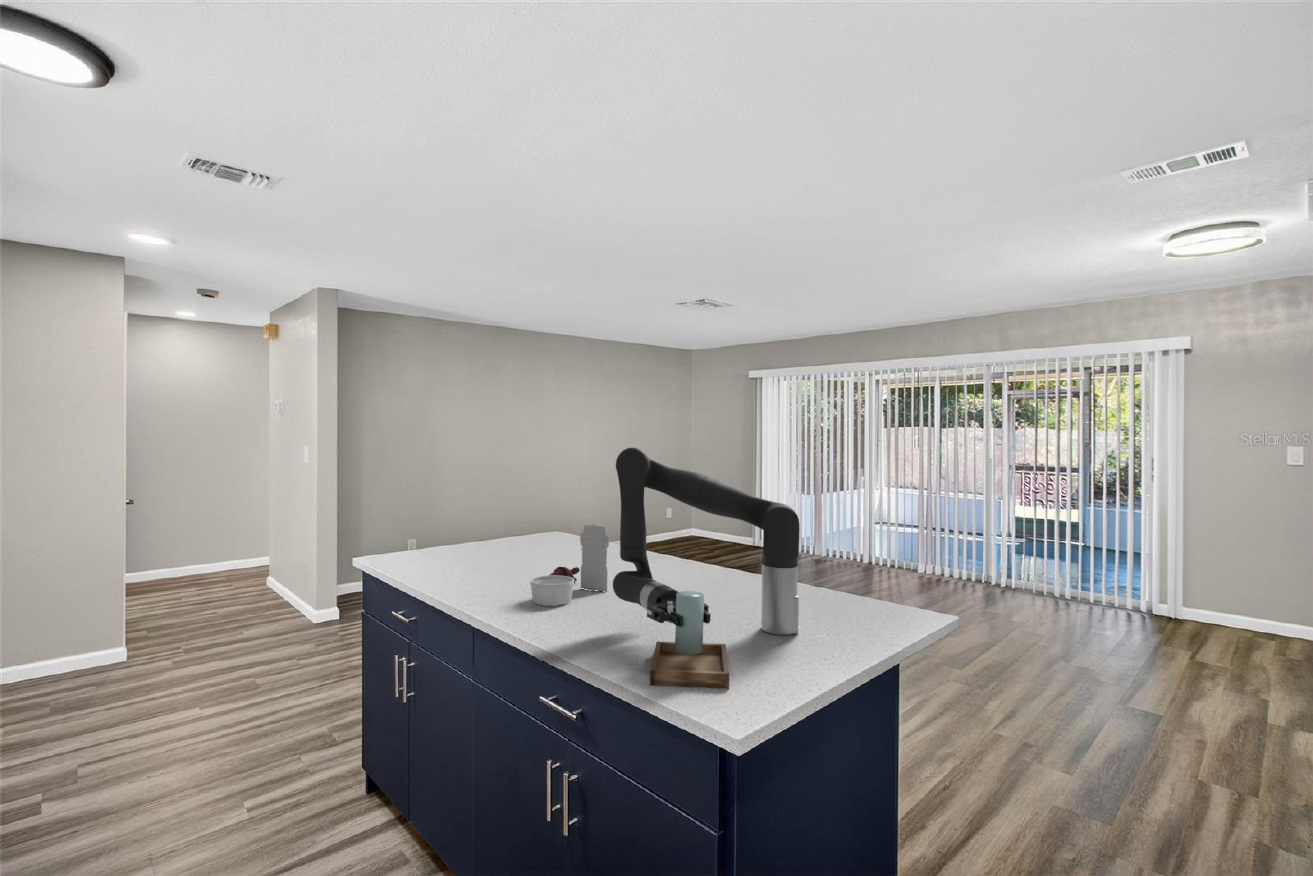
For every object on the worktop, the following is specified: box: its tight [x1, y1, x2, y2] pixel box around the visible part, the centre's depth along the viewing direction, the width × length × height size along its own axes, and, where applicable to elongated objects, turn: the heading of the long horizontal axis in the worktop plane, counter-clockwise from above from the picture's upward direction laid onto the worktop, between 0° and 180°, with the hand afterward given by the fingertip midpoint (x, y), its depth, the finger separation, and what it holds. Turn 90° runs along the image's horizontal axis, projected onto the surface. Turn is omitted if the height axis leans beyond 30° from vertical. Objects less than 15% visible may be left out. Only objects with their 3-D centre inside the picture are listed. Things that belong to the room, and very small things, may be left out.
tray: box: [649, 641, 730, 690], centre depth 132 cm, size 16×18×3 cm
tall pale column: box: [579, 523, 610, 592], centre depth 201 cm, size 11×4×22 cm, turn 69°
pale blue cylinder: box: [674, 590, 705, 655], centre depth 132 cm, size 6×6×12 cm
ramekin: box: [529, 574, 575, 607], centre depth 186 cm, size 13×13×7 cm
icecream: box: [549, 566, 581, 583], centre depth 206 cm, size 7×7×15 cm
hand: (695, 620), depth 130 cm, fingers closed on pale blue cylinder, 6 cm apart
